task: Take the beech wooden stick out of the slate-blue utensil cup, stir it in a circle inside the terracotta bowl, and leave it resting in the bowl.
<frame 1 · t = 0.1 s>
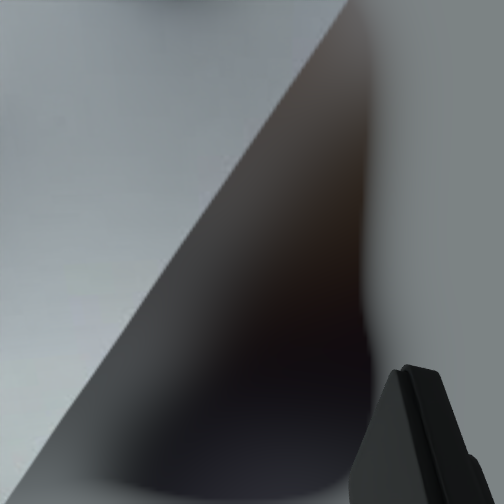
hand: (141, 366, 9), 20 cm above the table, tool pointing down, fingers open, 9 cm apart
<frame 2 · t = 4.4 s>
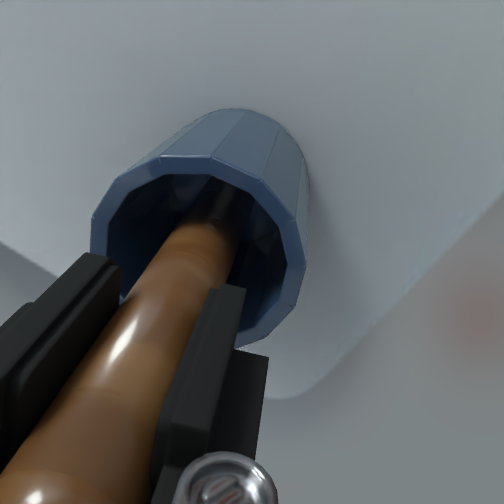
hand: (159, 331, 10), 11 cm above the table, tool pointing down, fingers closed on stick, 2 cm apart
holder: (236, 180, 21), on the table
stick: (234, 186, 20), point 1 cm above the table, touching gripper, holder
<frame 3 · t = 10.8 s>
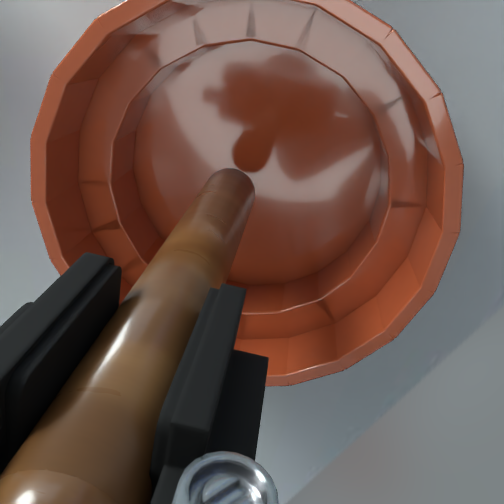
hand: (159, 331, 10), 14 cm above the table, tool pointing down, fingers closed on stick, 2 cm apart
bowl: (255, 171, 22), on the table
stick: (233, 186, 20), point 3 cm above the table, touching gripper
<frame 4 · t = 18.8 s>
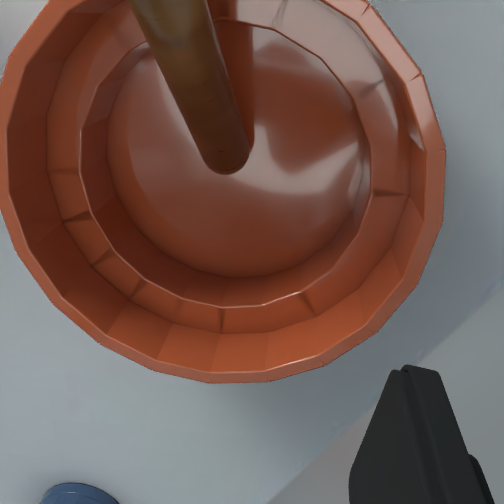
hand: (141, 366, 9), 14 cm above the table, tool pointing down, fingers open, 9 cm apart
bowl: (234, 160, 22), on the table
stick: (230, 163, 21), point 1 cm above the table, tilted 47°, touching bowl
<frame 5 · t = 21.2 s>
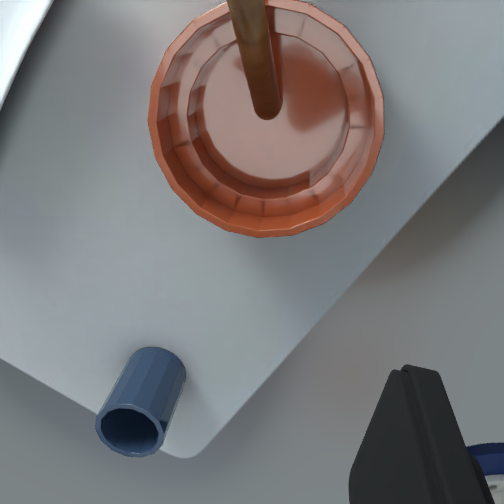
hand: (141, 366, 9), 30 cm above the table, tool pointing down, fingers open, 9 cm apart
bowl: (270, 114, 37), on the table
holder: (156, 371, 48), on the table
stick: (269, 114, 36), point 1 cm above the table, tilted 47°, touching bowl
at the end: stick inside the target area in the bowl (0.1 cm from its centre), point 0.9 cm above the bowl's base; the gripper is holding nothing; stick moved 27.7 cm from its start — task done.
